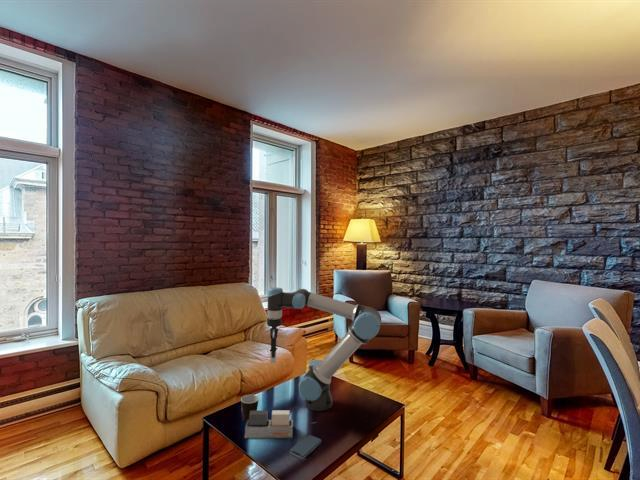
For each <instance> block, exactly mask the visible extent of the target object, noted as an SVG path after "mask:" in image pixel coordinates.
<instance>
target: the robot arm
mask: <svg viewBox="0 0 640 480" xmlns="http://www.w3.org/2000/svg"><path fill="white" fill-rule="evenodd" d="M305 306H306V307H310V308H314V309H317V310H319V311H324V312H327V313H330V314H333V315H336V316H340V317H342V318H346V319H349V320H351V321H352V322H351V323H350V324H349V325H348V329H347V332H346V333H345V334H344V335H343V336H342V338H341V339H340V340H339V341H338V343H336V345H335V346H334V347H332V349H331V350H330V351H329V352H328V354H327V355H325V357H323V359H322V360H321V359H313V360H310V361H309V362H308V370H307V372H306V373H305V374H304V375H303V377H302V378H301V379H300V381H299V383H298V390H299V391H298V392H299V393H300V395H301V397H303V398H304V406H305V408H306V409H308V410H309V411H310V410H311V411H314V412H323V411H324V410H325V411H328V410H330V409H331V408H332V407H333V396H332V394H331V391H330V385H331V382H332V378H333V376H334V375H335V374H336V373H337V371H338V370H340V368H341V367H343V365H344V364H345V363H346V362H347V361H348V360H349V358H350V357H352V355H353V354H354V353H355V352H356V351H357V350H358V348H360V347H361V346H362V345H367V343H369V342H370V340H372V339H373V338H375V337H376V336H377V335H378V333H379V331H380V328H381V324H382V316H381V314H380V312H379V311H378V310H377V309H375V308H373V307H370V306H366V305H362V304H358V303H357V304H356V305H355V304H351V303H348V302H345V301H341V300H338V299H335V298H332V297H327V296H324V295H320V294H318V293H313V292H312V291H311V292H310V291H309V290H307V288H306V289H305V288H300V289H297V290H296V291H294V292H285V291H283V288H282V287H270V288H269V289H268V291H267V311H266V312H265V313H266V314H267V316H266V317H267V318H266V325H267V326H268V327H270V328H269V329H270V330H269V333H270V349H269V352H270V361H269V363H270V365H271V364H276V363H277V350H278V348H277V339H278V332H279V328H278V327H281V326H282V321H283V320H282V319H283V318H282V317H283V308H288V309H289V308H290V309H303V308H304V307H305ZM329 408H330V409H329ZM327 409H328V410H327Z"/></svg>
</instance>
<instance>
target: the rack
mask: <svg viewBox="0 0 640 480" xmlns="http://www.w3.org/2000/svg"><path fill="white" fill-rule="evenodd" d="M268 414H269V411H268V410H257V411H250V414H249V420H247V423H246V424H245V427H244V439H293V434H294V433H293V431H294V428H293V427H294V420H293V419H289V426H271V424H272V419H268Z"/></svg>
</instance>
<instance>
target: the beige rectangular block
mask: <svg viewBox="0 0 640 480" xmlns="http://www.w3.org/2000/svg"><path fill="white" fill-rule="evenodd" d="M290 411H291V410H290V409H289V410H283V409H282V410H280V409H278V410H273V409H272V411H271V420H272V424H271V426H289V420H290V413H291V412H290Z"/></svg>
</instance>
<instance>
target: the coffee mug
mask: <svg viewBox="0 0 640 480" xmlns="http://www.w3.org/2000/svg"><path fill="white" fill-rule="evenodd" d="M259 399H260V397H259V396H258V395H256V394H247V395H244V396H242V397H241V398H240V405H241V417H242V418H241V419H242V422H243V421H244V422H243V423H247V420H249V414H250V411H258V406H259Z"/></svg>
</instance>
